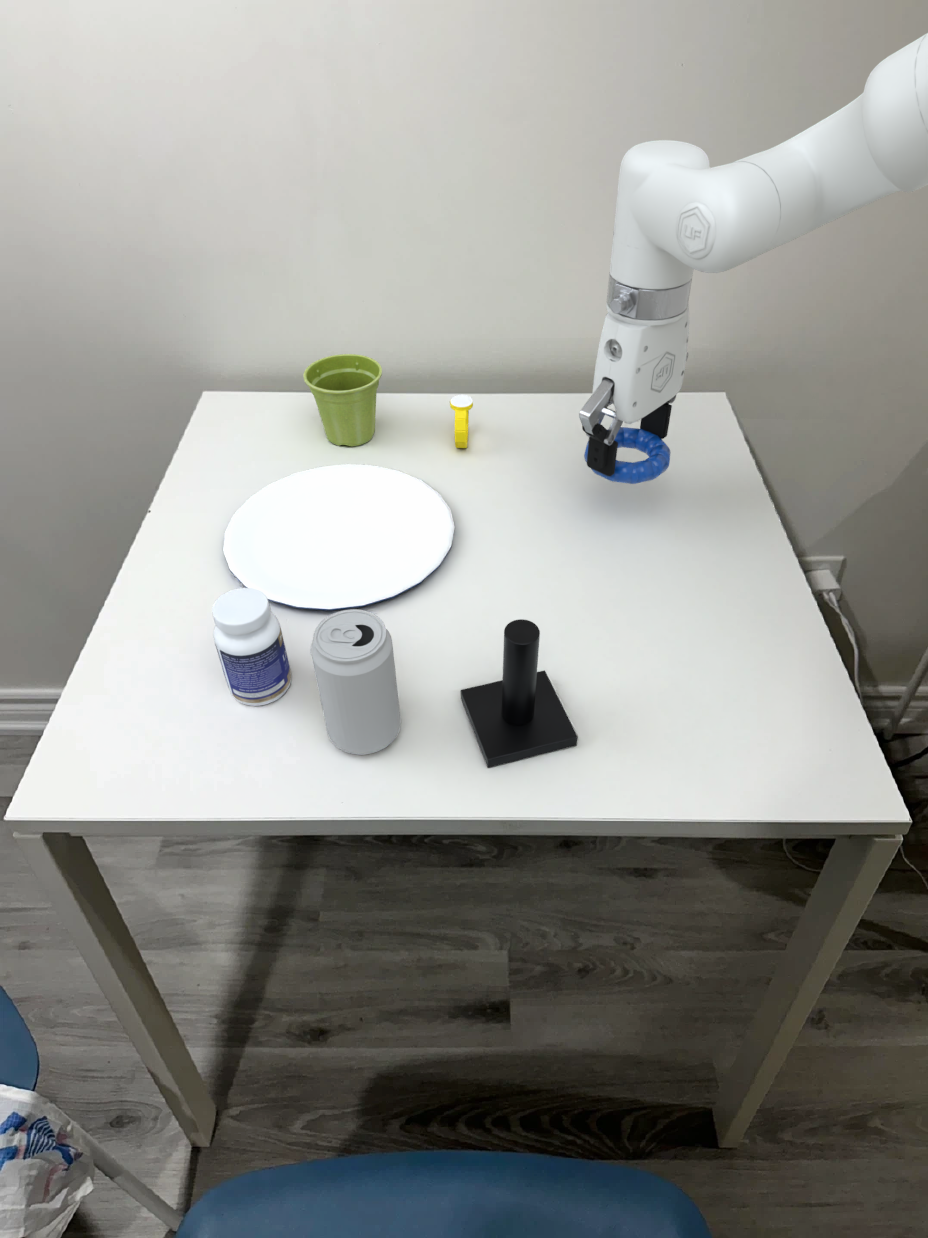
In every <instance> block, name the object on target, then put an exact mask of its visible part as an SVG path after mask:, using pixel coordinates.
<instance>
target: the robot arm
mask: <svg viewBox="0 0 928 1238" xmlns="http://www.w3.org/2000/svg"><path fill="white" fill-rule="evenodd" d="M927 186H928V32H927V33H924V34H923V35H922V36H920V37H918V38H917V39H915V40H914V41H911V42H910V43H908V44H907V45H905V46H903V47H902V48H900V49H898V50H897V51H895V52H893V53H891V54H890V55H888V56H886V58H884V59H882V60H881V61H880V62H879V63H878V64H877V65H875V66H874V68H873V69H872V70H871V71H870V73H869V75H868V77H867V78H866V81H865V85H864V87H863V92H862V93H861V94H860V95H859V96H857V97H856V98H855V99H853V100H851V101H850V102H849V103H847V104H846V105H844V106H843V107H842V108H840V109H838V110H836V111H835V112H833V113H832V114H830V115H829V116H826V117H825V118H823V119H821V120H820V121H818V122H816V123H815V124H813V125H811V126H809V127H808V128H806V129H805V130H803V131H801V132H798V133H797V134H796V135H794V136H792V137H790V138H788V139H787V140H784V141H783V142H781V143H779V144H777V145H775V146H772V147H770V148H768V149H766V150H761V151H760V152H756V153H753V154H750V155H748V156H745V157H742V158H740V159H737V160H735V161H732V162H729V163H726V164H721V165H717V166H712V167H711V164H710V159H709V157H708V154H707V153H706V152H705V150H704V149H702V148H701V147H700V146H697V145H695V144H692V143H690V142H686V141H680V140H674V139H660V140H659V139H657V140H648V141H644V142H640V143H638V144H635V145H633V146H632V147H631V148H629V149H628V150H627V151H626V152H625V154H624V155H623V157H622V159H621V162H620V165H619V172H618V182H617V190H616V191H617V192H616V201H615V212H614V213H615V214H614V221H613V222H614V223H613V231H612V242H611V253H610V261H609V273H608V283H607V292H606V293H607V295H606V303H605V309H606V311H607V313H606V314H605V317H604V321H603V325H602V329H601V334H600V338H599V343H598V348H597V355H596V358H595V359H596V360H595V366H594V373H593V381H592V392H591V393H592V394H591V395H590V397H589V398H588V399H587V401H586V402H585V404H584V405H583V406H582V408H581V409H580V411H579V413H578V418H579V421H580V423H581V430H582V431H583V432H584V433H585V435H586V436H587V437H588V441H589V444H588V454H587V463H586V466H587V467H588V468H589V469H590V470H591V469H593V470H596V471H598V472H600V473H602V474H604V475H606V476H609V477H610V476H612V475H613V474H614V472H615V464H616V460H617V455H618V449H619V448H618V442H617V441H615V438H616V436H617V434H618V432H619V429H620V427H622V426H623V423H624V424H626V425H632V424H634V423H636V422H639V421H640V425H639V429H643V430H645V431H648V432H650V433H653V434H655V435H657V436H659V437H660V438H661V439H662V440H663V439H665V438H666V437H667V436H668V432H669V428H670V427H669V426H670V420H671V415H672V409H673V405H672V404H673V403H674V402H675V400H676V398H677V395H678V394H679V392H681V390H682V387H683V383H684V377H685V370H686V364H687V361H688V358H689V351H688V347H689V334H690V303H689V299H690V294H691V287H692V283H693V276H694V270H695V271H698V272H700V273H706V274H719V273H724V272H727V271H730V270H732V269H735V268H737V267H739V266H740V265H742V264H745V263H746V262H750V261H752V260H753V259H756V258H758V257H759V256H762V255H763V254H766V253H768V252H770V251H773V250H775V249H776V248H779V247H781V246H783V245H786V244H788V243H790V242H793V241H795V240H797V239H798V238H801V237H802V236H804V235H807V234H809V233H811V232H813V231H815V230H817V229H819V228H821V227H823V226H825V225H828V224H829V223H832V222H834V221H836V220H838V219H840V218H842V217H844V216H846V215H849V214H850V213H853V212H855V211H857V210H859V209H861V208H864V207H866V206H868V205H870V204H873V203H875V202H877V201H879V200H881V199H883V198H886V197H889V196H891V195H893V194H896V193H899V192H904V193H908V194H909V193H913V192H915V191H917V190H920V189H923V188H925V187H927ZM611 405H613V406H614V410H613V409H610V408H608V407H610V406H611ZM605 416H607V417H609V418H611V419H612V421H611V422H610V425H609V427H608V429H607V428H606V427H605V426H604V425H603V424H602V422H603V420H604V418H605Z"/></svg>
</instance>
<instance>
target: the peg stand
mask: <svg viewBox="0 0 928 1238" xmlns="http://www.w3.org/2000/svg"><path fill="white" fill-rule="evenodd" d="M540 635H541V631H540V628H539V626H538V625H537V624H536V623H535V622H533V621H531V620H528V619H524V618H523V619H515V620H512V621H510V622H508V623H507V624H506V625H505V627H504V629H503V656H502V658H503V659H502V679H501V680H497V681H493V682H488V683H484V684H479V685H475V686H471V687H468V688H463V689H460V700H461V703H462V705H463V708H464V711H465V714H466V715H467V716H466V717H467V718H468V721H469V724H470V726H471V729H472V731H473V734H474V737H475V739H476V742H477V744H478V746H479V750H480V752H481V754H482V757H483V760H484V763H485V765H486V767H487V769H491V768H494V767H498V766H502V765H505V764H510V763H515V762H518V761H522V760H525V759H530V758H535V757H537V756H541V755H547V754H549V753H553V752H557V751H561V750H565V749H570V748H573V747H576V746H577V745H578V741H579V740H578V738H579V736H578V734H577V733H576V730H575V728H574V727H573V724H572V723H571V720H570V719H569V716H568V715H567V712H566V710H565V708H564V707H563V704H562V702H561V700H560V698H559V696H558V694H557V692H556V690H555V688H554V686H553V684H552V682H551V680H550V678H549V676H548V674H547V671H546V670H540V671H538V664H539V663H538V662H539V651H540Z"/></svg>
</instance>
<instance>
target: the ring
mask: <svg viewBox="0 0 928 1238" xmlns="http://www.w3.org/2000/svg"><path fill="white" fill-rule="evenodd" d="M615 441H617V442H618V448H617V449H621V448H622V449H623V448H625V449H633V450H637V451H640V452H642V453H644V454H646V455H647V456H648V457H646V459H643V460H639V461H634V462H633V461H632V462H631V461H624V460H623V461H622V460H617V459H616V464H615V472H614V474H613V475H612V476H610V477H609V476H606V475H604V474H602V473H600V472H598V471H596V470H593V469H591V468H590V470H591V471H592V472H593V473H594V474H595V475H597V476H598V477H601V478H603V479H605V480H608V481H610V482H612V483H620V484H627V485H636V484H640V483H646V482H650V481H653V480H655V479H657V478H658V477H659V476H662V474H664V473H665V472H666V471H667V470H668V468H669V467H670V461H671V449H670V447H669V446H668V444H667V443H666V442H665V441H664V440H663V439H661V438H660V437H659V436H657V435H655V434H653V433H650V432H648V431H645V430H643V429H640V428H637V427H629V426H621V427H620V429H619V432H618V434H617V436H616V438H615ZM588 444H589V440H588V441H587V442H586V447H585V450H584V454H583V458H584V461H585V463H586V464H587V454H588Z"/></svg>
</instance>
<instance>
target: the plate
mask: <svg viewBox="0 0 928 1238" xmlns="http://www.w3.org/2000/svg"><path fill="white" fill-rule="evenodd" d="M444 499H445V498H443V496H442V495H441V494H440V492H438V491H437V490H436V489H435V488H433V487H431V485H429V484H428V483H426V482H425V481H423V480H422V479H420V478H417V477H416V476H413V475H410V474H408V473H406V472H404V471H402V470H398V469H393V468H390V467H389V468H388V467H384V466H380V465H374V464H360V463H359V464H357V463H356V464H355V463H342V464H333V465H322V466H317V467H313V468H310V469H305V470H301V471H297V472H294V473H291V474H289V475H287V476H285V477H284V476H283V477H282V478H279V479H277V480H275V481H273V482H270V483H269V484H267V485H266V486H264V487H263V488H261V489H259V490H258V491H257V492H255V493H253V494H252V495H251V496H249V497H248V498H247V499H246V500H245V501H244V502H243V503H242V505H240V506H239V507H238V509H237V510H236V511H235V512H234V513H233V515H232V516H231V518H230V520H229V523H228V525H227V527H226V529H225V531H224V534H223V535H224V537H223V548H222V549H223V550H222V552H223V556H224V557H225V560H226V563H227V566H228V568H229V571H230V572H231V573H232V574H233V576H234V577H235V578H236V579H237V580H238V581H239V582H240V583H241V584H242V586H243V587H244V588H253V589H257V590H259V591H261V592H263V593H264V594H265V595H266V597H267V598H268V601H270V602H273V603H278V604H281V605H284V606H288V607H292V608H296V609H305V610H318V611H335V610H347V609H356V608H361V607H362V608H363V607H366V606H370V605H373V604H376V603H379V602H383V601H387V600H390V599H393V598H395V597H397V596H399V595H401V594H403V593H404V592H407V591H408V590H410V589H412V588H414V587H417V586H418V585H420V584H421V583H423V582H424V580H426V579H427V578H429V576H430V575H432V574H433V573H434V572H435V571H436V570H437V569H439V567H441V565H442V563H443V562H444V560H445V558H446V556H447V555H448V553H449V552H450V550H451V548H452V545H453V541H454V540H453V539H454V534H455V529H456V527H455V523H454V518H453V514H452V513H453V512H452V510H451V507H450V506H449V505H448V504H447V502H446V501H445V500H444Z"/></svg>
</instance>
